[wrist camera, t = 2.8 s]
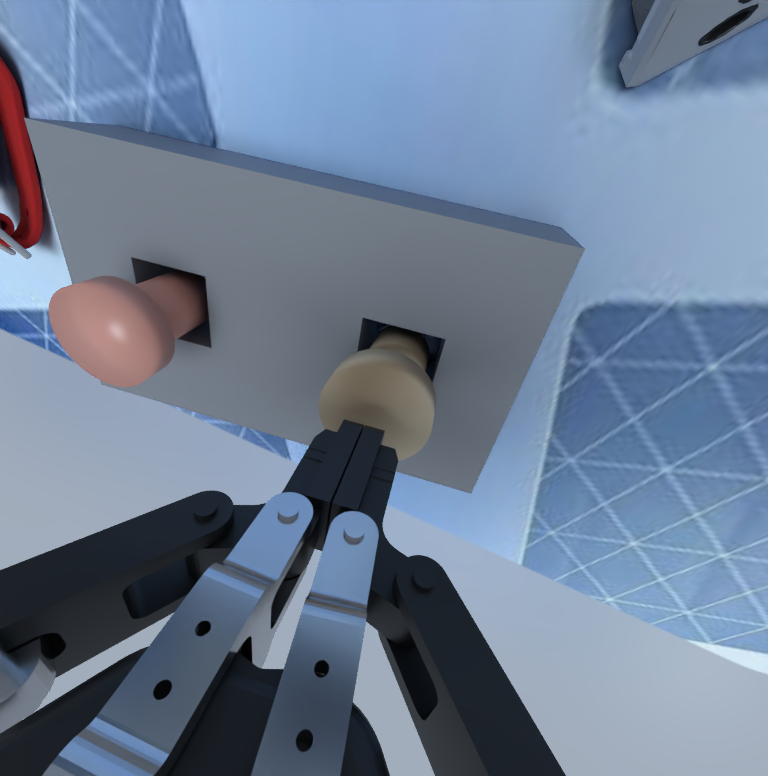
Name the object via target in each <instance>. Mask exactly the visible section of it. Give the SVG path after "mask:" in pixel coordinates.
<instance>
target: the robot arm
mask: <svg viewBox="0 0 768 776" xmlns="http://www.w3.org/2000/svg"><path fill="white" fill-rule="evenodd" d="M384 433H385V430H381V429H378V428H374V427H371V426H367V425H365V427H364V425H363V424H360V423H356V422H353V421H349V420H346V419H344V420H343V422H342V424H341V426H340V428H339V430H338V431H337V432H335V431H331V430H328V429H325V430H324V431H322V432H321V433H319V434H318V435H316V436H315V437H314V439H313V441H312V442H311V444H310V446H309V448H308V449H307V451H306V453H305V454H304V456H303V458H302V459H301V461H300V463H299V465H298V466H297V468H296V470H295V471H294V473H293V475H292V477H291V478H290V480H289V482H288V484H287V485H286V487H285V489H284V490H283V492H282V493H281V494H278V495H276V496H274V497H272V498H271V499H270V500H269V501H268V502H267V503H264V504H260V505H233V502H232V500H231V499H230V497H229V496H227V495H226V494H224V493H222V492H219V491H204V492H200V493H197V494H194V495H192V496H189V497H186V498H184V499H182V500H179V501H176V502H174V503H171V504H169V505H166V506H163V507H161V508H158V509H156V510H154V511H151V512H148V513H146V514H143V515H140V516H138V517H135V518H133V519H130V520H128V521H125V522H123V523H120V524H118V525H115V526H113V527H110V528H107V529H105V530H102V531H100V532H97V533H95V534H92V535H89V536H87V537H84V538H82V539H79V540H77V541H74V542H72V543H69V544H66V545H64V546H61V547H59V548H56V549H54V550H51V551H48V552H46V553H43V554H41V555H39V556H36V557H33V558H31V559H28V560H25V561H23V562H20V563H18V564H15V565H13V566H10V567H8V568H5V569H2V570H0V776H390V775H389V771H388V768H387V765H386V761H385V758H384V755H383V752H382V749H381V746H380V743H379V741H378V739H377V736H376V734H375V732H374V730H373V728H372V727H371V725H370V723H369V721H368V720H367V718H366V717H365V716H364V714H363V713H362V712H361V710H360V709H359V708H358V707H357V706H356V705H355V704H354V703H353V696H354V690H355V684H356V678H357V672H358V666H359V660H360V654H361V649H362V642H363V637H364V631H365V625H366V621H367V622H368V623H369V624H370V625H372V626H373V627H374V628H375V629H377V630H378V633H379V637H380V640H381V643H382V645H383V648H384V650H385V653H386V655H387V658H388V660H389V662H390V665H391V667H392V670H393V672H394V675H395V677H396V680H397V682H398V685H399V687H400V690H401V692H402V695H403V697H404V700H405V702H406V705H407V707H408V710H409V712H410V715H411V717H412V719H413V722H414V724H415V727H416V729H417V732H418V734H419V737H420V739H421V742H422V744H423V747H424V749H425V751H426V754H427V757H428V759H429V761H430V764H431V766H432V769H433V771H434V774H435V776H566V775H565V773H564V772H563V770H562V768H561V767H560V765H559V763H558V762H557V760H556V758H555V757H554V755H553V753H552V752H551V750H550V748H549V746H548V745H547V743H546V741H545V740H544V738H543V736H542V735H541V733H540V731H539V730H538V728H537V726H536V724H535V723H534V721H533V720H532V718H531V716H530V714H529V713H528V711H527V709H526V708H525V706H524V704H523V703H522V701H521V699H520V697H519V696H518V694H517V692H516V691H515V689H514V687H513V686H512V684H511V682H510V681H509V679H508V677H507V676H506V674H505V672H504V670H503V669H502V667H501V666H500V664H499V662H498V660H497V659H496V657H495V655H494V654H493V652H492V650H491V649H490V647H489V645H488V643H487V642H486V640H485V638H484V637H483V635H482V633H481V632H480V630H479V628H478V627H477V625H476V623H475V622H474V620H473V618H472V617H471V615H470V613H469V611H468V610H467V608H466V606H465V605H464V603H463V601H462V600H461V598H460V596H459V594H458V593H457V591H456V589H455V588H454V586H453V584H452V583H451V581H450V579H449V578H448V576H447V574H446V573H445V571H444V569H443V568H442V567H441V566H440V565H439V564H438V563H437V562H436V561H434V560H433V559H431V558H429V557H426V556H421V555H414V556H411V557H407V556H405V555H404V554H402V553H401V552H399V551H398V550H397V549H395V548H394V547H393V546H392V545H391V544H390V543H389V542H388V541H387V539H386V538H385V535H384V532H383V527H382V523H383V517H384V514H385V510H386V506H387V502H388V499H389V495H390V491H391V487H392V483H393V479H394V476H395V472H396V468H397V464H398V457H397V454H396V450H395V449H394V448H391V447H387V446H384V445H382V442H383V438H384ZM314 549H317V550H321V551H322V554H321V557H320V561H319V564H318V567H317V571H316V574H315V577H314V580H313V584H312V587H311V590H310V593H309V595H308V596H307V598H306V600H305V603H304V606H303V609H302V612H301V615H300V619H299V622H298V625H297V628H296V632H295V635H294V638H293V641H292V644H291V647H290V651H289V654H288V657H287V661H286V664H285V667H284V669H261V668H262V666H263V664H264V662H265V659H266V657H267V654H268V652H269V649H270V645H271V642H272V639H273V637H274V634H275V632H276V630H277V628H278V626H279V624H280V622H281V620H282V618H283V616H284V614H285V612H286V610H287V608H288V606H289V604H290V602H291V600H292V598H293V596H294V594H295V592H296V590H297V588H298V586H299V584H300V582H301V580H302V578H303V576H304V574H305V572H306V568H307V565H308V563H309V561H310V559H311V556H312V554H313V551H314ZM171 613H174V614H173V615H172V616H171V618H170V619H169V620H168V622H167V623H166V625H165V626H164V627H163V628H162V630H161V631H160V632H159V634H158V635H157V636H156V638H155V639H154V640H153V642H152V643H151V644H150V646H148V647H146V648H143V649H140V650H138V651H136V652H134V653H132V654H130V655H128V656H126V657H125V658H123V659H121V660H119V661H118V662H116V663H115V664H113V665H111V666H110V667H108V668H106V669H105V670H103V671H102V672H100V673H98V674H96V675H95V676H93V677H92V678H90V679H88V680H87V681H85V682H84V683H82V684H80V685H79V686H77V687H75V688H74V689H72V690H70V691H69V692H67V693H66V694H64V695H62V696H61V697H59V698H57V699H56V700H54V701H52V702H51V703H49V704H48V705H46V706H45V707H43V708H41V709H40V710H38V711H36V712H35V713H33V712H34V711H35V710H36V709H37V708H38V707H39V706H40V704H41V702H42V701H43V699H44V698H45V697H46V695H47V694H48V692H49V691H50V689H51V687H52V685H53V682H54V679H55V678H56V677H58V676H60V675H62V674H63V673H65V672H67V671H69V670H70V669H72V668H74V667H76V666H78V665H80V664H81V663H83V662H85V661H87V660H88V659H90V658H92V657H94V656H96V655H98V654H99V653H101V652H103V651H105V650H107V649H109V648H110V647H112V646H114V645H115V644H118V643H119V642H121V641H123V640H125V639H127V638H128V637H130V636H132V635H134V634H136V633H137V632H139V631H141V630H143V629H145V628H147V627H148V626H150V625H152V624H154V623H155V622H157V621H159V620H161V619H163V618H165V617H166V616H168V615H170V614H171ZM32 713H33V714H32ZM29 715H30V716H29ZM27 716H28V717H27ZM25 717H26V718H25ZM23 718H25V719H24V720H22V719H23ZM19 721H20V722H19ZM16 723H17V724H16Z"/></svg>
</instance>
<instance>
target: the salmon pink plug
mask: <svg viewBox="0 0 768 776" xmlns="http://www.w3.org/2000/svg"><path fill="white" fill-rule="evenodd" d="M49 318H50V322H51V326H52V328H53V331H54V333H55V335H56V337H57V339H58V341H59V342H60V344H61V346H62V347H63V348H64V350H65V351H66V352H67V354H68V355H69V356H70V357H71V358H72V359H73V360H74V361H75V362H76V363H77V364H78V365H79V366H80V367H81V368H83V369H84V370H85V371H86V372H88V373H89V374H91V375H92V376H94V377H95V378H97V379H99V380H101V381H103V382H105V383H108V384H111V385H114V386H118V387H133V386H136V385H139V384H140V383H142V382H144V381H145V380H147V379H148V378H150V377H151V376H153V375H154V374H156V373H157V372H158V371H160V370H161V369H163V368H164V367H166V366H167V365H168V364H169V363H170V362H171V360H172V358H173V356H174V352H175V340H176V339H177V338H179V337H181V336H182V335H184V334H186V333H187V332H189V331H191V330H192V329H194V328H196V327H197V326H199V325H201V324H202V323H204V322H206V321H207V320H209V312H208V301H207V290H206V279H205V278H204V277H202V276H201V275H198V274H194V273H190V272H187V271H183V270H179V269H176V270H173V271H171V272H168V273H165V274H163V275H160V276H157V277H155V278H152V279H149V280H147V281H144V282H141V283H138V284H136V285H134V284H132V283H131V282H129V281H126V280H124V279H121V278H118V277H114V276H98V277H95V278H92V279H89V280H86V281H82V282H79V283H76V284H73V285H70V286H67V287H63V288H61V289H59V290H58V291H56V292H55V293H54V295H53V296H52V298H51V300H50V303H49Z"/></svg>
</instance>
